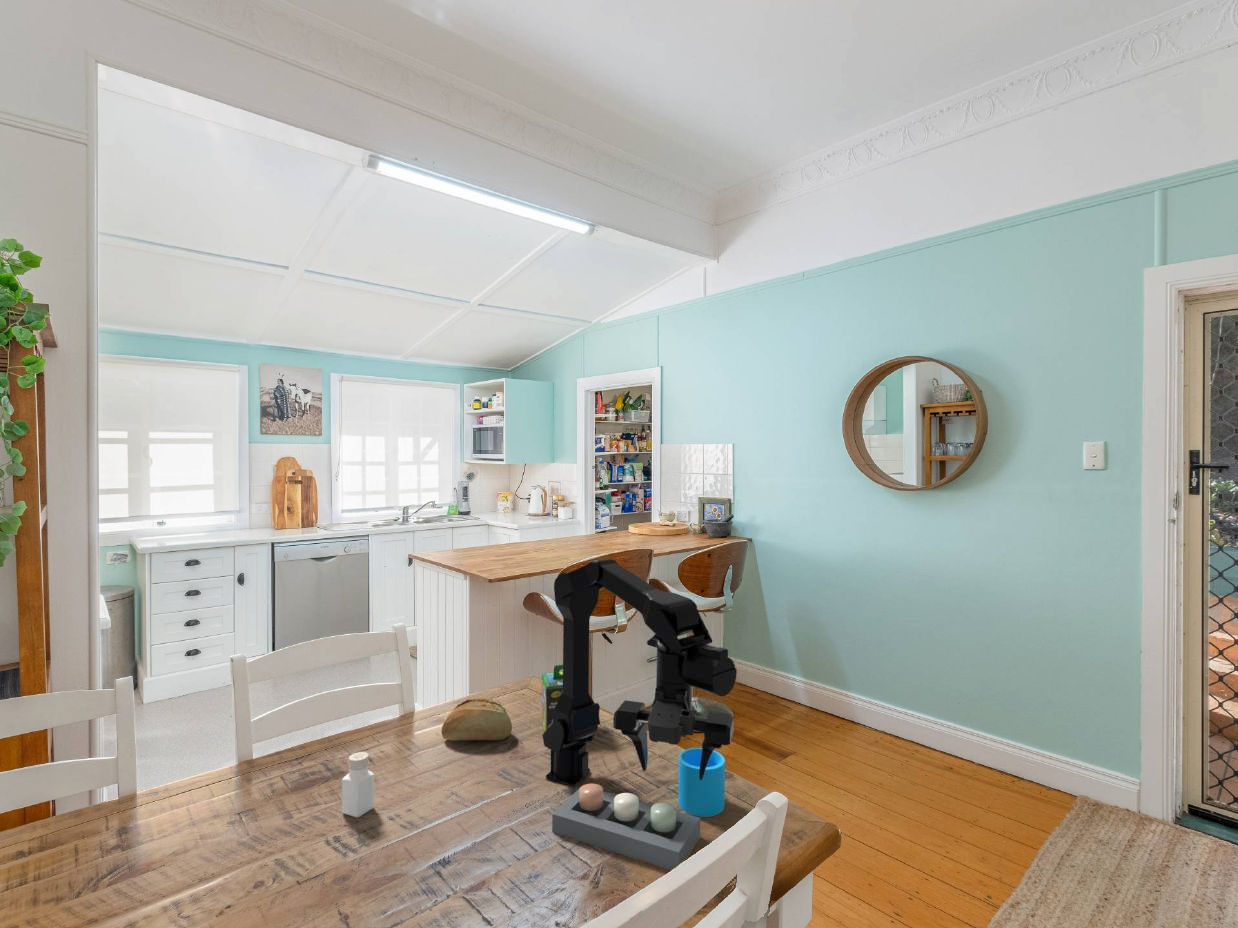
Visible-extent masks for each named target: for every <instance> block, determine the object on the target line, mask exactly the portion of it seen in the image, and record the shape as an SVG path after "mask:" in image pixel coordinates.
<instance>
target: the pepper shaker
mask: <svg viewBox="0 0 1238 928" xmlns="http://www.w3.org/2000/svg"><path fill="white" fill-rule="evenodd" d="M369 764H370V763H369V753H368V752H366V751H359V752H355V753H352V754H351V755H349V756H348V773H347V774H346V775H345V776H344V777H343V778H342V780H341V783H342V784H341V811H342V814H345V815H348V816H350V817H354V818H360V817H362V816H363V815H364V814H366V813H368V812H370V811H371V810H373V808H374V807H375V782H376V781H375V777H376V776H375V773H374V772H372V771H371V770H369V766H370V765H369Z"/></svg>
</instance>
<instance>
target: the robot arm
mask: <svg viewBox="0 0 1238 928" xmlns="http://www.w3.org/2000/svg"><path fill="white" fill-rule="evenodd" d="M603 588H604V589H605V590H607V591H609V592H610V593H611V594H613V595H614V596H616V597H617V598H619V599H620V600H622V601H623V602H624V603H626V604H627V605H629V606H630V607H631V608H633V609H635V610H636V611H637V612H639V613H640V614H641V615H642V619H643V622H644V624H645V625H646V626H647V628H649V630H651V632H652V633H654V635H653V636H652V637H650V638H649V639H648V640H647V641H646V644H647V645H648V646H650V647H653V648H656V676H655V677H656V680H655V681H656V684H655V688H654V689H655V691H654V692H655V693H654V699H653V701H652V705H651V709H650V710H646V703H645V702H641V701H634V700H624V701H623V702H622V703H621V704H620V705H619V706H618V708H617V709H616V710H615V711H614V714H613V720H612V721H613V729H614V730H617V731H621V734H622V735H624V736H627V737H628V738H629V739H630V740H631V742H632V744H633V746H634V748H635V751H636V754H637V757H638V759H639V764H640V765H641V768H642V771H644V772H646V771H647V769H648V759H649V757H648V756H649V755H648V754H649V753H648V752H649V751H648V749H649V748H648V739H649V741H650V742H653V743H659V742H660V743H665V744H669V745H673V746H674V745H677V744H679V743H680V742H681V739H682V737H684V738H686V737H687V736H693V735H694V732H697V731H698V732H702V733H703V734H704V735H703V737H704V738H703V741H702V744H701V748H702V755H701V762H700V770H699V780H702V778H703V775H704V772H705V769H706V766H707V763H708V760H709V758H710V756H711V754H712V752H713V750H714V751H715V749H721V748H723V746H728V745H731V742H732V737H733V735H734V734H733V733H734V729H735V727H734V726H735V725H734V724H735V723H734V722H735V721H734V720H735V719H734V717H733V716H732V714H731V713H725V712H716V711H709V712H708V713H707V717H706V718H703V717H697V716H696V715H695V711H694V710H692V708H693V707H692V705H693V704H692V703H693V700H692V699H693V697H692V696H693V694H692V693H693V691H692V690H693V688H696V689H700V690H701V691H704V692H707V693H710V694H713V695H716V696H718V697H727V695H729V694H730V692H731V691H732V690H733V688H734V687H735V683H736V680H737V672H738V671H737V668H736V665H735V662H734V661H733V659H732V658H730V657H729V650H728V649H727V648H725V647H716V646H715V645H710V644H712V643H713V639H712V637H711V634H710V633H709V630H708V628H707V627H706V625H705V622H704V620H703V619H702V617H701V615H700V612H699V610H698V605H697V604H696V603H695V601H693V600H692V599H691V598H689V597H687V596H684V595H681V594H680V593H679V594H678V593H676V592H671V591H663V590H661V589H658V588H656V587H654V585H652V584H650V583H649V582H647V581H645V580H643V579H642V578H641V577H638V575H636V574H634V573H633V572H631V571H629V570H627V569H626V568H625V567H623V566H622V565H620V564H618V561H616V559H612V558H601V559H594V560H592V561H590V562H588V563H586V564H585V565H584V566H581V567H578V568H576V569H574V570H572V571H567V572H562V573H560V574H559V575H558V576H557V577H556V578H555V579H554V582H553V590H554V592H553V593H554V600H555V601H554V602H555V606H556V608H557V609H558V611H559V612H560V614H561V616H562V618H563V619H562V620H563V623H562V624H563V626H562V630H563V631H562V632H563V635H562V638H563V639H562V642H563V643H562V665H563V669H562V671H563V693H562V695H561V697H560V699H559V701H558V703H557V705H556V706H555V709H554V716H553V724H552V725H551V726H550V727H549V728H548V729H547V730H546V731H544V732H543V733H542V740H543V746H544V747H545V748H547V749H549V750H550V768H549V769H550V772H547V774H546V775H545V778H546V780H550V781H553V782H558V783H562V784H565V785H568V786H571V787H574V786H575V787H576V786H577V785H578V784H579V783H580V782H581V781H582V780H583V779H584V778H585V777H586V776H588V775H589V774H590V773H591V769H590V768H589V752H588V751H587V743H590V742H593V741H594V738H595V735H596V733H597V731H598V728H599V725H601V720H600V710H601V706H600V704H599V703H597V702H595V701H594V699H593V698H592V696H591V694H590V626H591V625H590V619H591V617H592V615H593V612H594V610H595V608H596V607H597V606H598V602H599V595H600V590H602V589H603ZM691 633H692V634H693V635H689V636H686V637H681V636H684V635H688V634H691ZM678 637H681V638H678Z"/></svg>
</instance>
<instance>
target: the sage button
mask: <svg viewBox="0 0 1238 928" xmlns="http://www.w3.org/2000/svg"><path fill="white" fill-rule="evenodd" d="M652 805H653V806H652V807H651V827H652V828H653V829H654V830H656V831H659V832H670V831H672V830H674V829H675V827H676V811H677V809H676V807H675V806H674V805H673V804H671V803H667V802H657V803H655V804H652Z"/></svg>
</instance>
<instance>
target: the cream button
mask: <svg viewBox="0 0 1238 928" xmlns="http://www.w3.org/2000/svg"><path fill="white" fill-rule="evenodd" d="M616 795H617V796H615V798H614V816H615V817H616V818H617V819H619V820H621V821H632V820H635V819H636V818H637V817H638V812H639V800H640V799H639V797H638V796H637V795H636V794H634V793H629V792H622V793H619V794H616Z"/></svg>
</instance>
